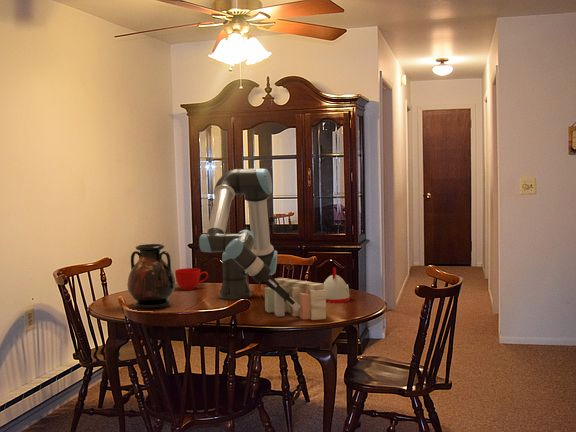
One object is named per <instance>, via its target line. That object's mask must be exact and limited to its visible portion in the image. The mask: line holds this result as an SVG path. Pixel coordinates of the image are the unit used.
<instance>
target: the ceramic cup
mask: <svg viewBox="0 0 576 432" xmlns="http://www.w3.org/2000/svg"><path fill="white" fill-rule="evenodd" d="M203 274H205V275H206V277H205V278H204V279H202V280H200V279H201V276H202V275H203ZM174 277H175V282H176V283H177V286H179V288H180V289H181V290H182V291H192V290H196V288H197V287H198V285H199V284H200V283H204V282H205V281H207V279H208V277H209V274H208V272H207V271H201V269H200V268H195V267H188V268H178V269H175V271H174Z"/></svg>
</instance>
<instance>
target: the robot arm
mask: <svg viewBox="0 0 576 432" xmlns="http://www.w3.org/2000/svg"><path fill="white" fill-rule="evenodd" d="M272 193H273V181H272V177H271V172H270V170H268V169H267V168H259V167H256V168H234V169H230V170H228V171H227V172H225V173H223V175H221V176H220V178H219V179H218V180H217V182H216V184H215V186H214V189H213V195H214V198H213V203H212V209H211V212H210V217H209V221H208V227H207V231H206V233H202V234H200V236H199V239H198V241H199V242H198V243H199V250H200V251H201V252H202V253H222V258H221V260H222V261H221V263H222V284H221V287H220V291H219V298H220V299H223V300H231V301H232V300H233V301H234V300H242V299H241V298H245V299H249V298H251V297H252V291H251V288H250V285H249V282H248V276H250V277H251V278H252V279H253V280H254V281H255V282H256V283H258V284H260V283H262V282H263V281H264V282H263V283H264V284H265V285H266V286H267V287H270V288H271V289H272V290H274V291H275V292H277V293H278V294H279V295H280V296H281V297H282V298H283V299H284V302H285V301H286V302H287V303H288V304H289V305H290V306H291V307H292V308H294V309H295V310H296V311H297V310H298V309H299V308H300V307H301V306H300V305H299V304H298V303H297V302H296V301H295V300H294V299H293V298H292V297H291V296H290V295H289V293H287V292H286V291H285V290H284V289H283V288H282V287H281V286H280V285H279V283H278V282H277V281H275V278H274V276H272V275H274V274H276V272H277V271H276V270H277V265H278V251H277V250H276V249H274V248H275V247H274V245H272V244H271V239H270V236H271V235H270V227H269V216H268V215H269V214H268V205H267V204H268V203H267V200H268V199H269V198H270V195H271V194H272ZM236 195H238V196H239V195H243V198H244V200H245V201H246V202H247V204H248V206H247V207H248V215H249V217H248V218H249V226H250V230H249V229H242V230H240V231H239V232H238V233H226V231H227V226H228V220H229V217H230V216H229V215H230V211H231V207H232V201H233V200H234V198H235V197H236Z"/></svg>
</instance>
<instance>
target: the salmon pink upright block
mask: <svg viewBox="0 0 576 432" xmlns="http://www.w3.org/2000/svg"><path fill="white" fill-rule="evenodd" d="M299 305H300V306H301V307H300V308H299V312H300V316H299V318H300V319H302V320H311V319H310V295H309V294H308V293H306V292H305V293H299Z"/></svg>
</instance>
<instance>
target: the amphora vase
mask: <svg viewBox="0 0 576 432" xmlns="http://www.w3.org/2000/svg"><path fill="white" fill-rule="evenodd" d="M135 249H136V250H135V251H133V252H132V253H131V256H130V267H131V268H130V272H129V274H128V278H127V292H128V294H129V295H130V296H131V297H132V299H133V300H135V302H134V303H133V306H134V307H135V308H136V309H140V310H156V309H157V310H158V309H163V308H167V307H169V306H170V305H171V300H170V299H169V298H170V297H172V295H173V293H174V292H175V289H176V277H175V273H174V271H173V270H172V263H171V262H172V259H171V254H170V253H169V252H168V251H165V250H163V251H161V250H162V249H165V245H164V244H159V243H149V244H148V243H146V244H138V245H136V246H135ZM136 255H137V256H138V258H139V259H138V260H137V261H136V263H135V256H136ZM163 255H165V257H166V259H167V260H166V261H167V262H166V261H165V260H164V259H163Z"/></svg>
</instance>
